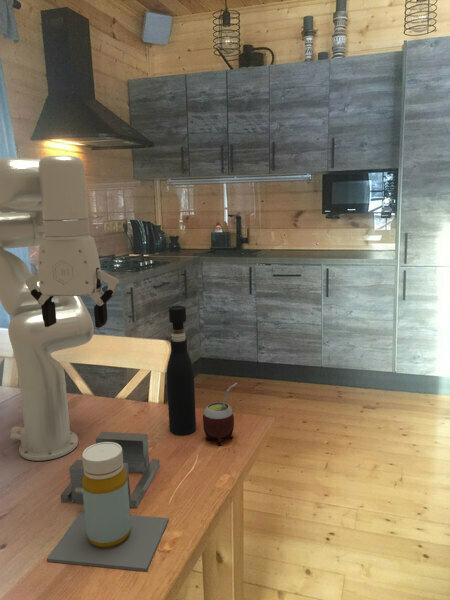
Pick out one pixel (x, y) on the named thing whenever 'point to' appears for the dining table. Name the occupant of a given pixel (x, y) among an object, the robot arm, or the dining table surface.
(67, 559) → the mat
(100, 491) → the bottle
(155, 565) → the dining table surface
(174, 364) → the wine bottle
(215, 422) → the mate gourd
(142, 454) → the vise
